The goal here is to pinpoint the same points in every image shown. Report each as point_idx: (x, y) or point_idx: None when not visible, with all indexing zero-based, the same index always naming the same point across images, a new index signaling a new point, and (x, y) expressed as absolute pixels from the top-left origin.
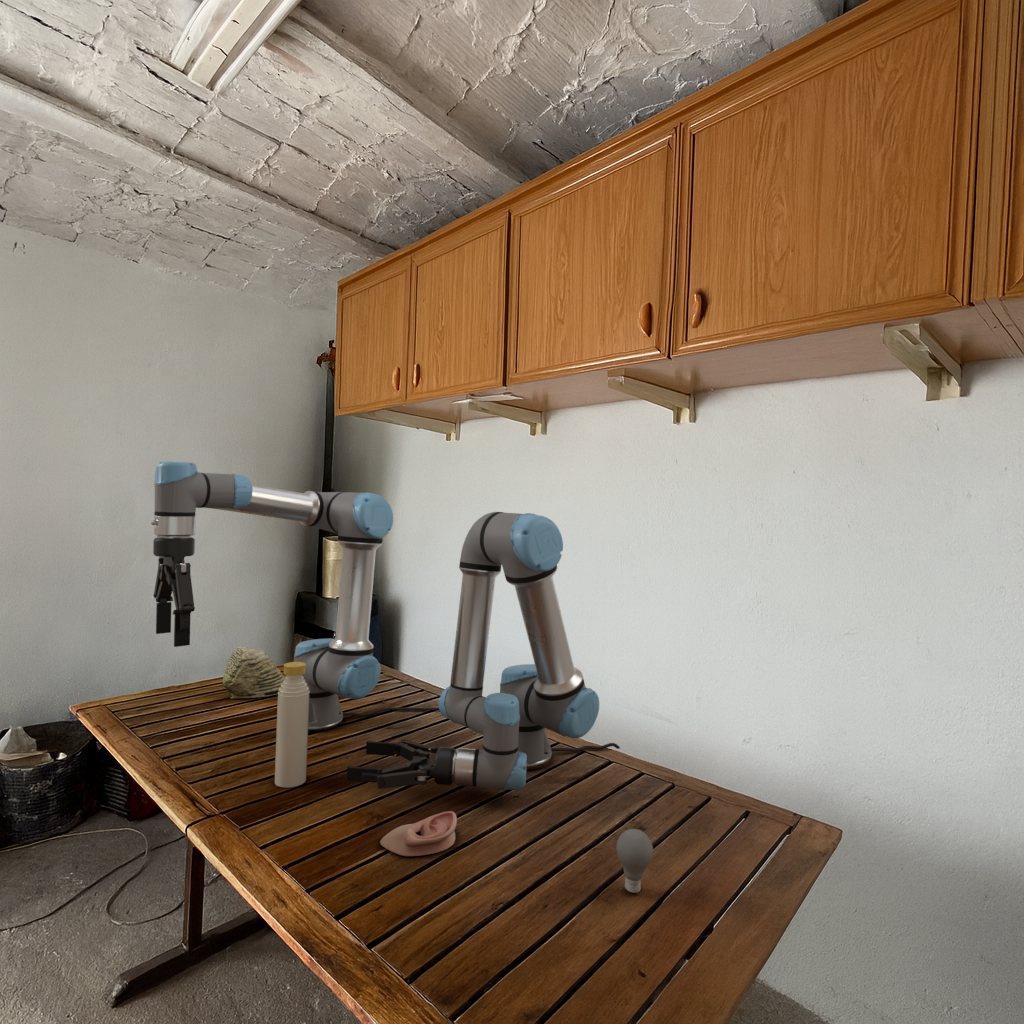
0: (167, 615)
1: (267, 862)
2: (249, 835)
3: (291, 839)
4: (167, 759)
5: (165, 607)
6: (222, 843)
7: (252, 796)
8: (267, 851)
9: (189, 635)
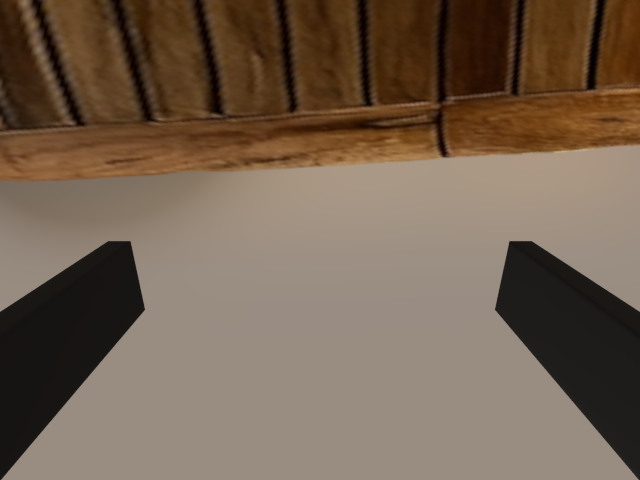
0: (59, 324)
1: (633, 96)
2: (543, 89)
3: (609, 34)
4: (158, 114)
5: (3, 392)
6: (532, 132)
7: (419, 29)
8: (607, 84)
9: (568, 268)
